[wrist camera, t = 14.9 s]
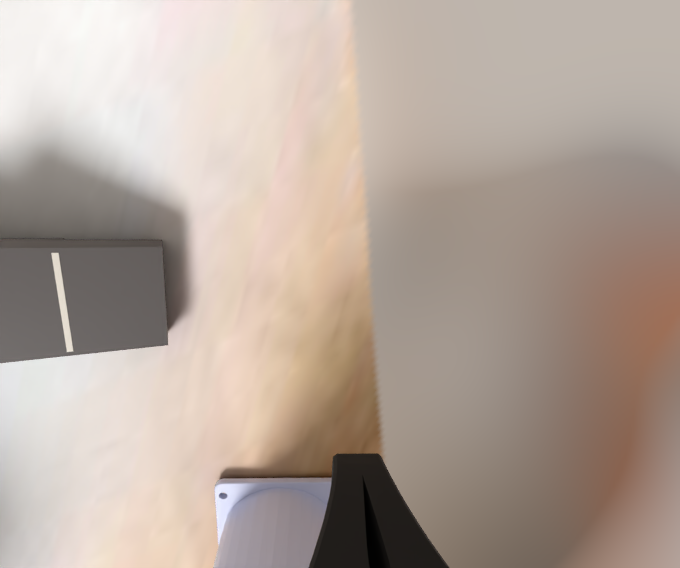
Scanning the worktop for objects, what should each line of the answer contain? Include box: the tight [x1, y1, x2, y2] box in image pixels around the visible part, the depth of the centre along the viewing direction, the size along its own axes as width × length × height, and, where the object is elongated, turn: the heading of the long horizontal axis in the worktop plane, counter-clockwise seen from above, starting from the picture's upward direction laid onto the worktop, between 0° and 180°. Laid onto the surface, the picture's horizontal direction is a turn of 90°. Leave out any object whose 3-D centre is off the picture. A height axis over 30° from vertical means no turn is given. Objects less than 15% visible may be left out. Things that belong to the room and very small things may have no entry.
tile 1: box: [0, 240, 168, 363], centre depth 17 cm, size 2×5×8 cm
